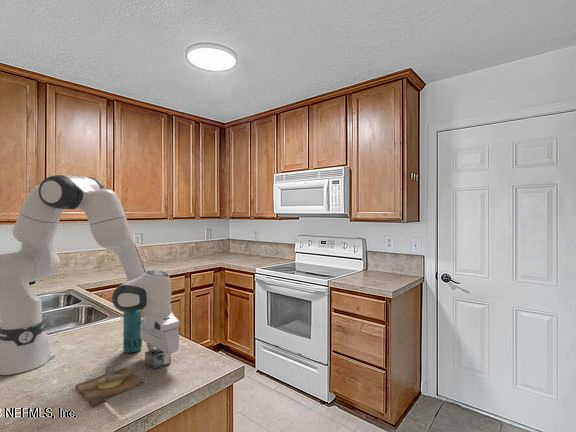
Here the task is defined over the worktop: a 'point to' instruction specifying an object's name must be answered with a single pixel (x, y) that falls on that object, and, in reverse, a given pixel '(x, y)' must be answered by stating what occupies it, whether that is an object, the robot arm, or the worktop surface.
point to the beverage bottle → (132, 331)
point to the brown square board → (108, 385)
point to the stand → (156, 354)
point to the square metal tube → (155, 359)
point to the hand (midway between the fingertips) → (158, 358)
